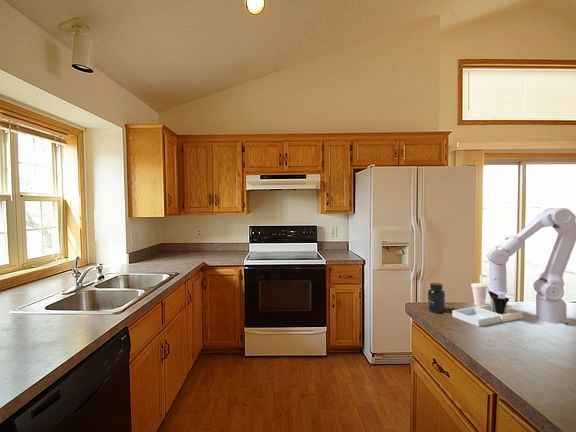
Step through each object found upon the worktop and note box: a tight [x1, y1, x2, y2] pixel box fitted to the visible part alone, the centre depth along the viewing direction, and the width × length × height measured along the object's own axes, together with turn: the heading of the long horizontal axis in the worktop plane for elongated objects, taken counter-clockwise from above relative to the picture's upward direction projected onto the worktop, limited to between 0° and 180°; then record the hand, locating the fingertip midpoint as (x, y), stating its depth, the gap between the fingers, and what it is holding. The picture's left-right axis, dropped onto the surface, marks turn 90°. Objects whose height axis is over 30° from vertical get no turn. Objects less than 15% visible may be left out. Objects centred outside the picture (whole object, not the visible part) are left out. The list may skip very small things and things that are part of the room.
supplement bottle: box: [427, 282, 446, 314], centre depth 127 cm, size 7×7×12 cm
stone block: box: [490, 297, 507, 314], centre depth 119 cm, size 4×4×6 cm
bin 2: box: [474, 303, 524, 323], centre depth 119 cm, size 11×11×3 cm
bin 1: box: [451, 306, 502, 327], centre depth 115 cm, size 11×11×3 cm
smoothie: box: [470, 274, 489, 306], centre depth 133 cm, size 6×6×14 cm
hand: (498, 311), depth 119 cm, fingers open, 6 cm apart
